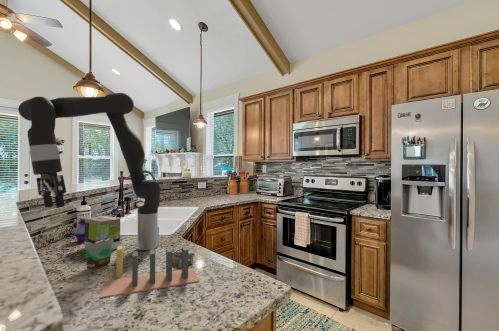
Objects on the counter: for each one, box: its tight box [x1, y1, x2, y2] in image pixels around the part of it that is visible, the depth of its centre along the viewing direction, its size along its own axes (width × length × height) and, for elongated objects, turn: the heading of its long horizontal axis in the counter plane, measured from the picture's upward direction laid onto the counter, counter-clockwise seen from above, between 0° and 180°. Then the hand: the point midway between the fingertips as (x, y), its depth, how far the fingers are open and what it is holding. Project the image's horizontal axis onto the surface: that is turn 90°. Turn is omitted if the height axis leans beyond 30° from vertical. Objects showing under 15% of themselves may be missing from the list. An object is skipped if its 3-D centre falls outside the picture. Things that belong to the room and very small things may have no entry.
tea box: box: [84, 215, 121, 251], centre depth 124 cm, size 15×10×15 cm, turn 58°
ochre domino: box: [115, 244, 124, 279], centre depth 93 cm, size 2×5×10 cm, turn 23°
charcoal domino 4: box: [181, 245, 189, 279], centre depth 92 cm, size 2×5×10 cm, turn 23°
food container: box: [83, 236, 114, 270], centre depth 103 cm, size 12×6×10 cm, turn 168°
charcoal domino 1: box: [131, 250, 139, 287], centre depth 85 cm, size 2×5×10 cm, turn 23°
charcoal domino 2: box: [149, 248, 156, 284], centre depth 87 cm, size 2×5×10 cm, turn 22°
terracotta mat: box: [99, 267, 200, 299], centre depth 87 cm, size 30×12×1 cm, turn 113°
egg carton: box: [172, 251, 196, 267], centre depth 106 cm, size 11×8×4 cm
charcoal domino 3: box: [165, 247, 173, 281], centre depth 90 cm, size 2×5×10 cm, turn 23°
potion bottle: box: [73, 218, 86, 243], centre depth 135 cm, size 9×9×12 cm
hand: (54, 207), depth 85 cm, fingers open, 8 cm apart
